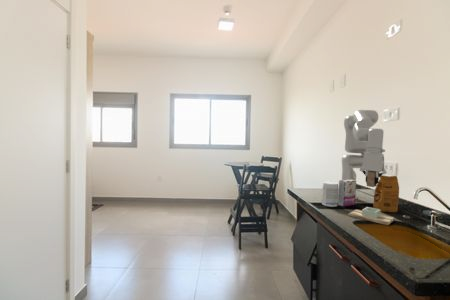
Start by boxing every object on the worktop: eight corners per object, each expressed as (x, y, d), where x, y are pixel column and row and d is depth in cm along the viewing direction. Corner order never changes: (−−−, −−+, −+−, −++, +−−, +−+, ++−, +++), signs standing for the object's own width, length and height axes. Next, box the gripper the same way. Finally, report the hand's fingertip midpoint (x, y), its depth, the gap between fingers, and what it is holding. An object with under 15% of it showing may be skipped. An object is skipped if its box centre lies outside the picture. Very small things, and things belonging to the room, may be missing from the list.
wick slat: (369, 185, 157) (370, 170, 157) (376, 186, 155) (377, 171, 154) (366, 186, 154) (367, 171, 153) (373, 187, 151) (374, 172, 151)
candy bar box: (348, 203, 187) (350, 179, 185) (355, 205, 182) (357, 180, 181) (337, 204, 181) (338, 180, 180) (343, 206, 177) (345, 181, 176)
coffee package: (370, 207, 178) (373, 173, 176) (390, 208, 177) (393, 174, 176) (378, 212, 168) (381, 176, 166) (399, 213, 167) (402, 177, 166)
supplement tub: (340, 206, 178) (342, 183, 177) (331, 208, 173) (332, 184, 172) (327, 202, 186) (329, 181, 185) (318, 204, 181) (319, 182, 180)
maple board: (356, 211, 167) (356, 209, 166) (394, 220, 153) (394, 217, 153) (348, 215, 157) (348, 213, 157) (388, 225, 143) (388, 222, 143)
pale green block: (366, 212, 160) (367, 206, 160) (380, 215, 156) (380, 209, 155) (361, 215, 154) (362, 209, 154) (375, 218, 149) (376, 212, 149)
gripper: (393, 152, 150) (390, 185, 151) (360, 149, 161) (358, 180, 163) (389, 152, 144) (386, 187, 146) (356, 149, 156) (353, 182, 157)
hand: (371, 183), depth 154 cm, fingers closed on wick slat, 3 cm apart
